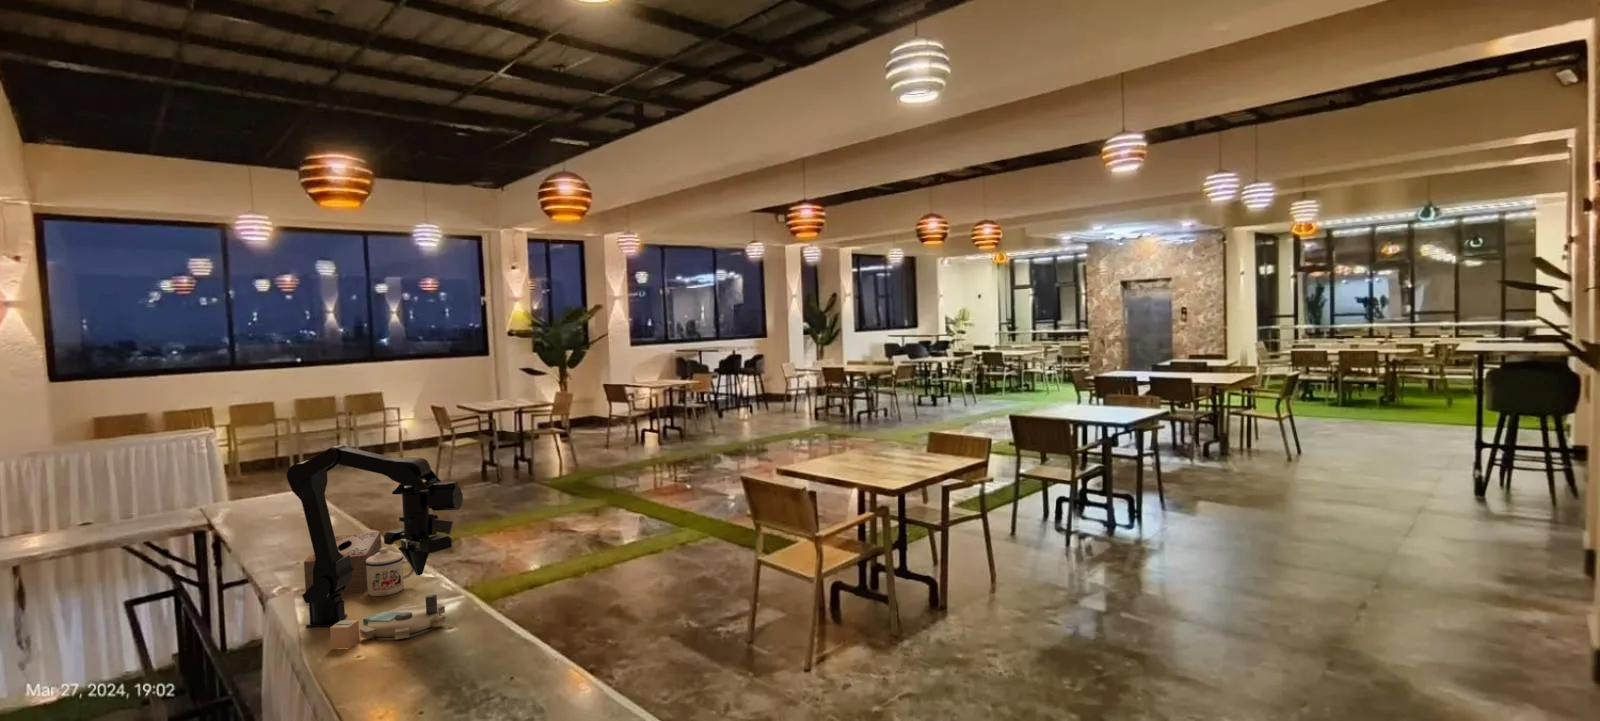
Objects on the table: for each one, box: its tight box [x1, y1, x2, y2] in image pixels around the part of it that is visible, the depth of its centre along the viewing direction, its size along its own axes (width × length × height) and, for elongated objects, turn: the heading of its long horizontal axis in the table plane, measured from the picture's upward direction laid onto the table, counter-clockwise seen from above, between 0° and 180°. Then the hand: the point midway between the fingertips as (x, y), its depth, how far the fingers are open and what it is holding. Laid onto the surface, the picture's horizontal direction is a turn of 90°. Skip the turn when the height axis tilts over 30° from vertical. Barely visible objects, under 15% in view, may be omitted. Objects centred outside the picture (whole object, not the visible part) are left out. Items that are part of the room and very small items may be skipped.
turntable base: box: [370, 627, 437, 642], centre depth 183 cm, size 16×16×1 cm
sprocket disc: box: [359, 594, 446, 641], centre depth 183 cm, size 19×18×6 cm
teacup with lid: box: [365, 547, 415, 597], centre depth 209 cm, size 12×9×12 cm
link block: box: [329, 619, 361, 649], centre depth 173 cm, size 4×4×5 cm
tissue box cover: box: [303, 530, 382, 594], centre depth 218 cm, size 26×14×10 cm, turn 21°
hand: (419, 574), depth 187 cm, fingers closed
